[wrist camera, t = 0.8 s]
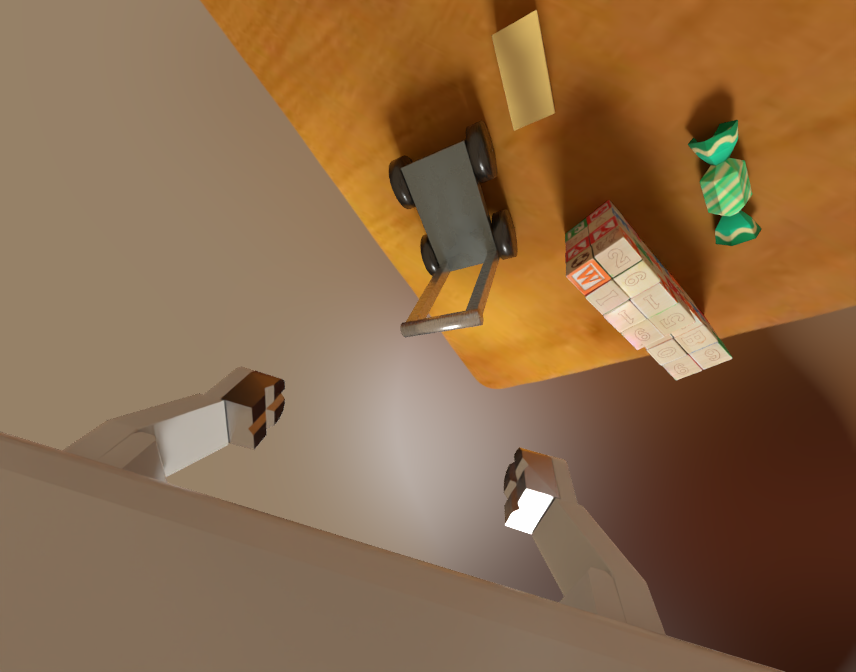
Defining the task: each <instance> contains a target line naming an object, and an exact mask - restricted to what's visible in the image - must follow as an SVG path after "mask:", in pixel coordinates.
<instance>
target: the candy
mask: <svg viewBox="0 0 856 672" xmlns="http://www.w3.org/2000/svg"><path fill="white" fill-rule="evenodd" d="M737 140H738V120H734V121H730V122H725V123H721V124H719V127H718V129H717V130H716V132H715V134H714V135H713V137H712V138H710V139H708V140H706V141H704V142H698V143H697V141H696V139H695V138H693V139H692V140H691V141H690V142H689V143H688V145H689V147H690V148H691V149H692V150H693V151H694V152H695V153H696V154H697V156H698V157H699V158H701V159H702V160H704V161H705V162H707V163H708V164H710V165H711V166H710V167H709V169H708V170H707V172H706V173H705V175H704V176H703V177H702V179H701V180H700V184H701V188H702V191H703V195H704V199H705V202H706V206H707V209H708V213H713V214H718V215H723V216H722V218H721V220H720V222H719V224H718V225H717V227H716V229H715V237H716V244H721V245H729V246H733V245H736V244H740V243H743V242H746V241H749V240H752V239H755V238H756V237H757V236H758V234H759V232H760V231H761V227H760V226H759V225H758V224H757V223H756V222H755V221H754V220H753V218H752V217H750V216H749V215H748V214H746V213H745V212H743V211H742V210H741V209H742V208H743V207H744V206H745V204H746V203H747V201H748V200H749V198H750V197H751V195H752V191H751V186H750V182H749V177H748V173H747V168H746V164H745V161H744V160H739V159H734V158H729V157H730V155H731V153H732V151H733V149H734V146H735V144H736V142H737Z"/></svg>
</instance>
